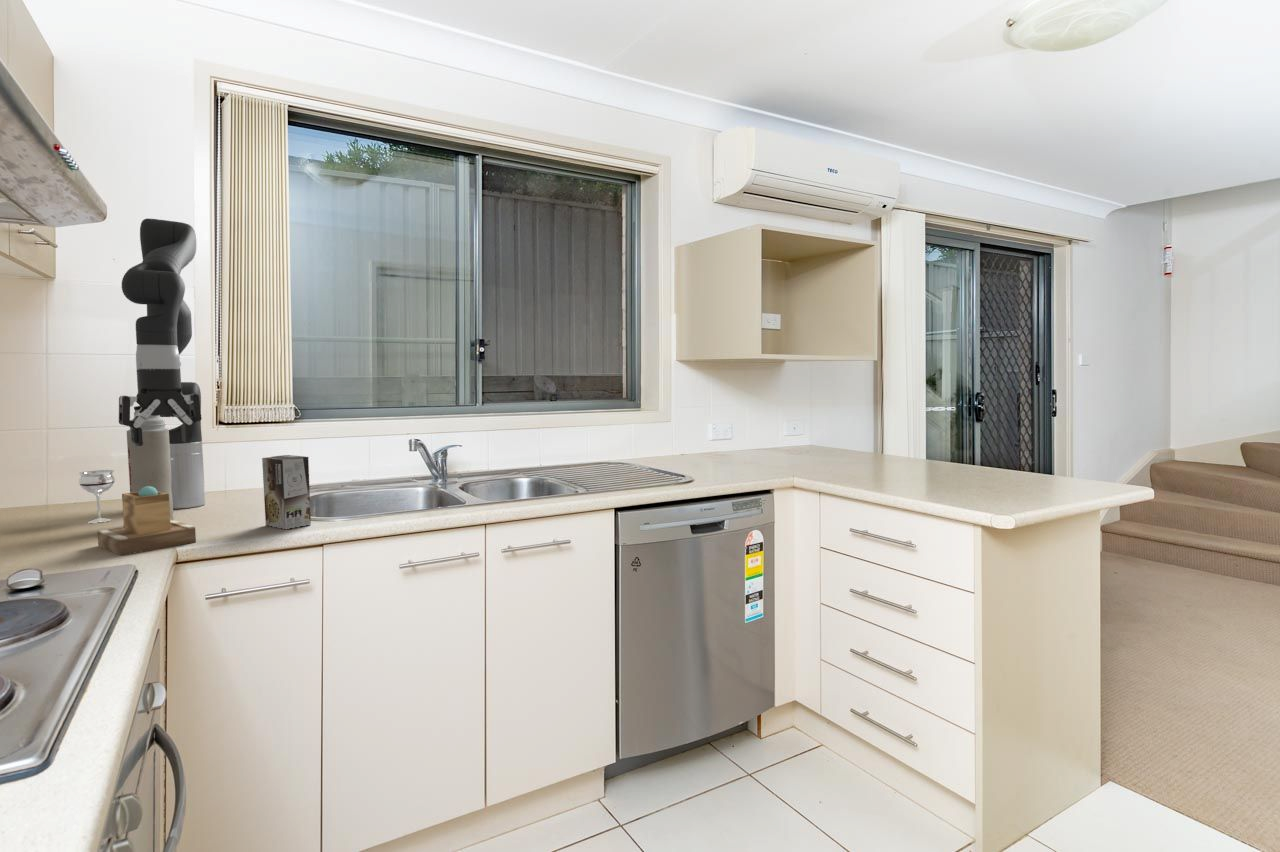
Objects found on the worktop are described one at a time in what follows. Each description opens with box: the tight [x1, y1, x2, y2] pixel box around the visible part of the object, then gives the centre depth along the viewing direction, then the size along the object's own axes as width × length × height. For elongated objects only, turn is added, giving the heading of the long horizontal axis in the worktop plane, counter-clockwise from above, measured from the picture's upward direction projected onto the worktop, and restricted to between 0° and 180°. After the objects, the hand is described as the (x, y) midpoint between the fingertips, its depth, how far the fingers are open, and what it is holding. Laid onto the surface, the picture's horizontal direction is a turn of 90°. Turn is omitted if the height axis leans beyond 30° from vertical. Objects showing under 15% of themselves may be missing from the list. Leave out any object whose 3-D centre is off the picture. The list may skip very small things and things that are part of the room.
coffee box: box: [261, 454, 312, 530], centre depth 157 cm, size 9×6×16 cm
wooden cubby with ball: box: [121, 491, 171, 535], centre depth 140 cm, size 8×6×8 cm
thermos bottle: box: [126, 405, 175, 521], centre depth 158 cm, size 8×8×28 cm
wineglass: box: [78, 469, 116, 524], centre depth 163 cm, size 7×7×12 cm
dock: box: [96, 519, 197, 556], centre depth 140 cm, size 13×13×3 cm
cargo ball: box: [138, 486, 158, 497], centre depth 139 cm, size 3×3×3 cm
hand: (162, 443), depth 143 cm, fingers open, 8 cm apart
